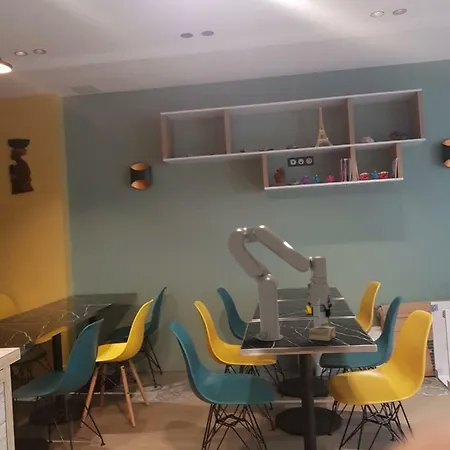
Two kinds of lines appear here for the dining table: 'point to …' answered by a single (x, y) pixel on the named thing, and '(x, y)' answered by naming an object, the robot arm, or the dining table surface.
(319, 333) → the beech block
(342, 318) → the dining table surface
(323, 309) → the syrup box
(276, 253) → the robot arm
